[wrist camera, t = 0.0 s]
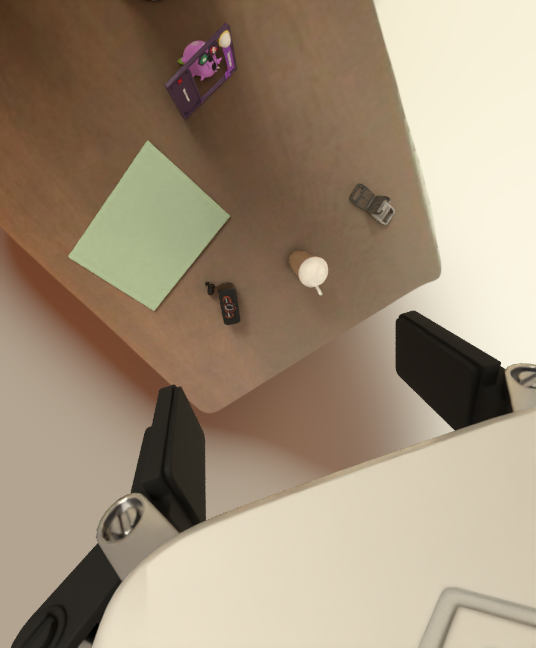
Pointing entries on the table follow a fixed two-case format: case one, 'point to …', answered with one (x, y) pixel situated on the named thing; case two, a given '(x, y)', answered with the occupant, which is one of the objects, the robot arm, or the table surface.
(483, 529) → the robot arm
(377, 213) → the strap clip
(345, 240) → the table surface
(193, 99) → the purple creature toy frame
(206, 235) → the desk mat
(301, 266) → the milkshake
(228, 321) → the wireless earbuds
